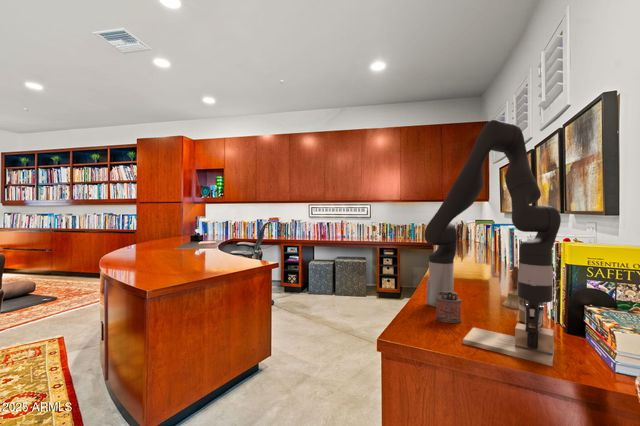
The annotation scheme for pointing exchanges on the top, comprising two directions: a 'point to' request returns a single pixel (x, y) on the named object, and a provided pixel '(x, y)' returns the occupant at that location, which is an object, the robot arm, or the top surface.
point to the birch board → (504, 345)
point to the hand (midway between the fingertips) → (534, 342)
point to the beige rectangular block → (543, 339)
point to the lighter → (448, 307)
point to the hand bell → (513, 292)
